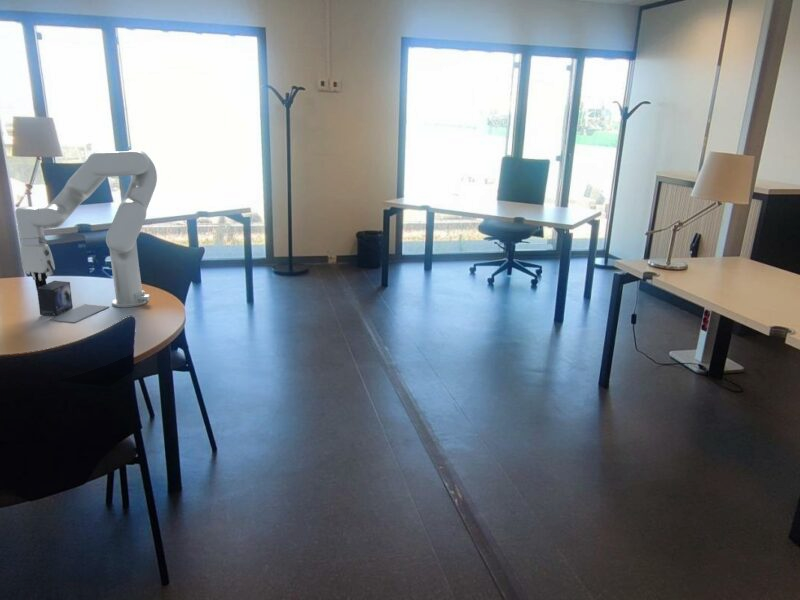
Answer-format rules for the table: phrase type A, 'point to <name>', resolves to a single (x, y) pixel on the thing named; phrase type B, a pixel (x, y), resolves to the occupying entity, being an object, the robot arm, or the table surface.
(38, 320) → the table surface
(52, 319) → the mat
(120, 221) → the robot arm
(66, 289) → the small box
